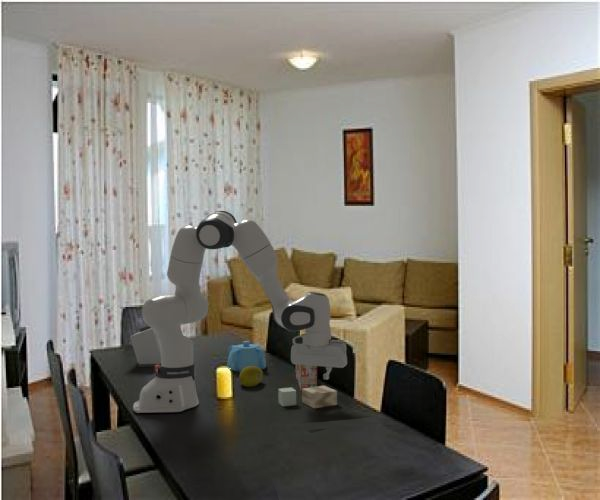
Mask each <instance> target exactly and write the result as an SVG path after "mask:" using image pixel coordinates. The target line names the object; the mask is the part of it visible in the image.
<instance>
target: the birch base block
mask: <svg viewBox="0 0 600 500" xmlns="http://www.w3.org/2000/svg"><path fill="white" fill-rule="evenodd" d="M301 402H302V403H303V404H304V405H307V406H309V407H310V408H313V409H317V408H319V409H320V408H325V407H331V406H336V405H338V390H336V389H333V388H331V387H329V386H326V385H319V386H318V385H317V387H310V388H303V389H302V392H301Z"/></svg>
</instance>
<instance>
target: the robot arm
mask: <svg viewBox="0 0 600 500" xmlns="http://www.w3.org/2000/svg"><path fill="white" fill-rule="evenodd" d="M231 246H232V247H234V249H235V250H236V251H237V253H238V254H239V257H240V259H241V261H242V262H243V263H244V265H245V266H246V268H247V269H248V271H249V272H250V273H251V274H252V275H253V277H255V279H256V280H257V281H258V282H259V284H261V287H262V289H263V291H264V292H265V294H266V297H267V298H268V300H269V302H270V304H271V310H272V317H273V318H272V319H273V321H274V323H275V324H277V326H279V327H281V328H282V329H286V330H287V331H289V332H298V331H305V333H302V334H300V335H297V336H295V337H293V338H292V346H291V349H290V361H291V363H292V364H293V365H295V364H300V365H306V369H307V371H308V373H309V378H315V372H313V371H312V369H311V367H312V366H317V367H324V368H325V370H326V373H323V374H322V379H323V380H329V379H330V373H331V371H332V369H333V368H338V369H343V368H344V367H346V366H347V365H348V356H347V350H348V349H347V344H346V342H344V341H343V339H342V340H341V339H333V338H332V329H331V323H330V322H331V318H332V317H331V316H332V315H331V303H330V299H329V297H328V295H326V294H324V293H321V292H317V291H316V292H315V291H309V292H306V294H304V295H303V296H302V297H300V298H298V299H296V300H292V299H291V298H290V297H289V296H288V295H287V292H286V291H285V289H284V287H283V285H282V283H281V282H280V279H279V277H278V273H277V267H278V264H279V259H278V258H277V254H276V251H275V250H274V247H273V245H272V243H271V241H270V240H269V238H268V236H267V235H266V234H265V232H264V231H263V229H262V228H261V227H260V225H258V223H257V222H256V221H255V220H253V219H244V220H241V221H239V222H237V219H236V218H235V216H234V215H233V214H232V213H230V212H229V211H226V210H217V211H214V212H213V213H210V214H209V215H207V216H206V217H204V219H202V220H201V221H200V222H199V223H198V225H197V226H194V225H185V226H183V227H181V228H179V230H178V231H177V233H176V237H175V239H174V242H173V245H172V248H171V251H170V252H171V253H170V257H169V263H168V267H167V272H166V276H167V278H168V280H169V282H170V283H171V284H173V285H174V286H175V290H174V293H173V294H165V295H164V294H162V295H157V296H154V297H152V298H149V299H147V300H146V301H145V302H144V304H143V306H142V308H141V316H142V319H143V321H144V323H145V324H146V325H148V326H149V327H151V328H152V329H153V330H154V331H155V333H156V334H157V337H158V339H159V342H160V348H161V365H156V366H155V367H154V371H155V377H154V378H153V379H151V380H150V381H148V383H147V384H146V385H144V386H143V387H142V388H141V390H140V393H139V399H138V400H137V401H135V402H134V403H133V405H132V410H133V411H134V412H135V413H137V414H139V413H140V414H141V413H143V414H144V413H145V414H146V413H151V414H152V413H180V412H183V411H185V410H189V409H191V408H195V407H197V406H198V405H199V404H200V401H199V399H198V394H197V390H196V383H195V380H196V365H195V363H194V343H193V341H192V339H190V338H189V337H188V336H185V335H184V334H183V331H182V325H188V324H194V323H196V322H199V321H201V320H204V319H205V318H206V316H207V315H208V313H209V302H208V299H207V298H206V297H205V295H204V294H203V293H202V291H201V288H200V277H201V272H202V265H203V261H204V256H205V252H206V249H207V250H218V249H224V248H225V249H226V248H229V247H231Z"/></svg>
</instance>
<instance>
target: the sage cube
mask: <svg viewBox="0 0 600 500" xmlns="http://www.w3.org/2000/svg"><path fill="white" fill-rule="evenodd" d="M277 395H278V396H277V397H278V404H279V405H281V407H290V406H297V390H296V389H295V388H294V387H282V388H278V391H277Z"/></svg>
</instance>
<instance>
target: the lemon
mask: <svg viewBox="0 0 600 500" xmlns="http://www.w3.org/2000/svg"><path fill="white" fill-rule="evenodd" d="M238 376H239V382H240V383H241V385H242V387H243V386H244V387H246V388H249V387H250V388H251V387H255V386H257V385H259V384H260V383H261V382H262V380H263V376H264V371H263V369H259V368H258V367H255V366H248V367H246V368H244V369H243V370H242V371H241V372H239V375H238Z"/></svg>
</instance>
